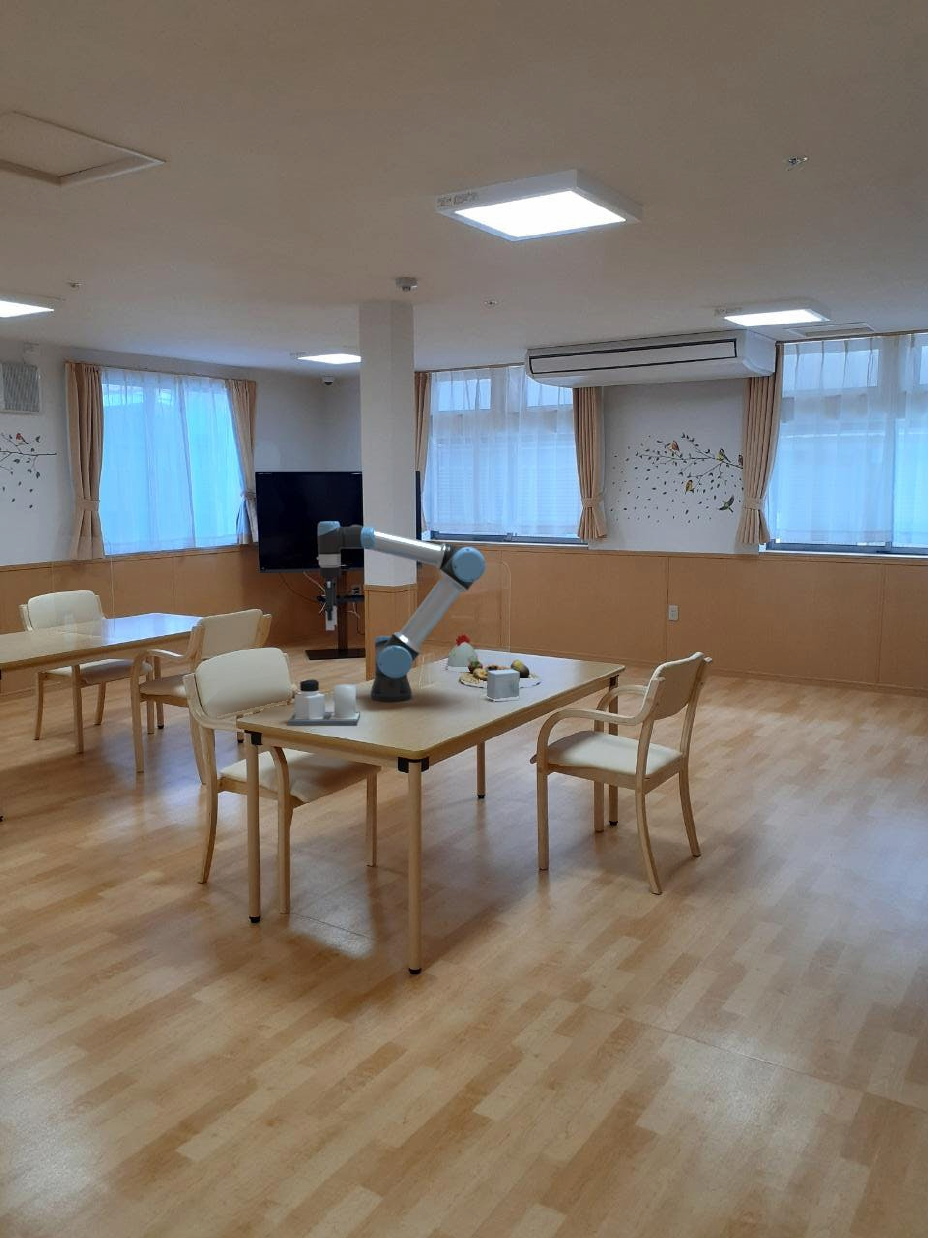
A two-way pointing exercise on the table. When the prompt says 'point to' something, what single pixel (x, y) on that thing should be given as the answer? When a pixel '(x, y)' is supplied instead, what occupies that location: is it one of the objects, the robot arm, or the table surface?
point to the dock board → (325, 720)
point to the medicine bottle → (309, 700)
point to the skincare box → (503, 683)
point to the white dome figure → (462, 653)
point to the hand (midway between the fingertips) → (331, 627)
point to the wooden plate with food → (478, 673)
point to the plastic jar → (344, 701)
